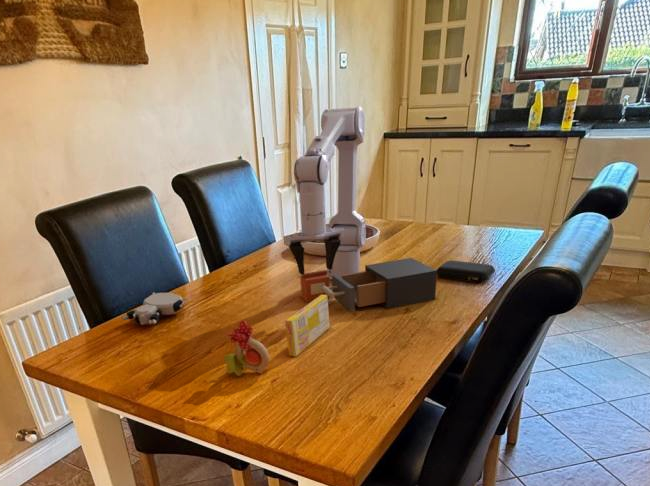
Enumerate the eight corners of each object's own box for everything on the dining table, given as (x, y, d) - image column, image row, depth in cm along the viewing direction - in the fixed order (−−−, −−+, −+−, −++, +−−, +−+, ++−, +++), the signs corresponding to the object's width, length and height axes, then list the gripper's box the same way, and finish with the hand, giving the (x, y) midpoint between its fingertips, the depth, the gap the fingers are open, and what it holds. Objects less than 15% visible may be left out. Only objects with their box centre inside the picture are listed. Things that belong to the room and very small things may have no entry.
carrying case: (431, 279, 145) (484, 286, 138) (432, 268, 144) (485, 274, 136) (445, 268, 153) (496, 274, 145) (446, 258, 151) (497, 263, 143)
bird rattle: (267, 374, 108) (229, 355, 108) (283, 331, 101) (242, 311, 102) (255, 389, 103) (215, 369, 104) (271, 345, 96) (229, 324, 97)
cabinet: (386, 308, 129) (387, 279, 125) (365, 292, 140) (365, 265, 136) (435, 299, 132) (437, 270, 128) (409, 284, 143) (411, 257, 139)
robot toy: (157, 334, 127) (193, 309, 137) (152, 318, 125) (189, 293, 135) (121, 328, 133) (158, 304, 143) (115, 312, 130) (154, 289, 140)
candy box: (322, 327, 122) (320, 293, 117) (330, 328, 121) (329, 294, 116) (287, 355, 110) (284, 319, 106) (295, 357, 109) (293, 320, 105)
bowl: (277, 253, 180) (275, 230, 176) (322, 233, 200) (321, 212, 196) (353, 262, 164) (353, 237, 160) (393, 240, 185) (394, 217, 181)
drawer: (334, 313, 126) (334, 291, 123) (318, 298, 136) (317, 277, 133) (396, 302, 130) (396, 280, 127) (375, 288, 139) (375, 267, 136)
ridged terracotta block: (306, 302, 137) (305, 276, 133) (301, 297, 140) (299, 272, 137) (330, 298, 138) (329, 272, 134) (324, 293, 142) (323, 268, 138)
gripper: (288, 220, 114) (292, 280, 121) (348, 211, 117) (349, 270, 124) (279, 214, 119) (283, 272, 126) (337, 206, 123) (338, 263, 130)
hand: (315, 270), depth 125 cm, fingers open, 7 cm apart
